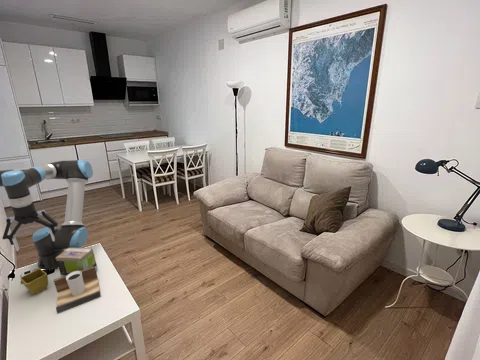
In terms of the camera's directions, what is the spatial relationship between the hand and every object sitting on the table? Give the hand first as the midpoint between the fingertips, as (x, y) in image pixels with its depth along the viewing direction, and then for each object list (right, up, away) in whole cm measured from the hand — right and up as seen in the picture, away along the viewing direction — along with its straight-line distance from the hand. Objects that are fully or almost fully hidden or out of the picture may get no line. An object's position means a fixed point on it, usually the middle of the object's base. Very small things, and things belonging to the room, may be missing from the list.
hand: (36, 244), depth 119 cm
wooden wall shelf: (+16, -27, +7) cm, 33 cm away
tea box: (+7, -23, +22) cm, 32 cm away
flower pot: (-8, -27, +11) cm, 30 cm away
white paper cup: (+16, -26, +7) cm, 31 cm away
